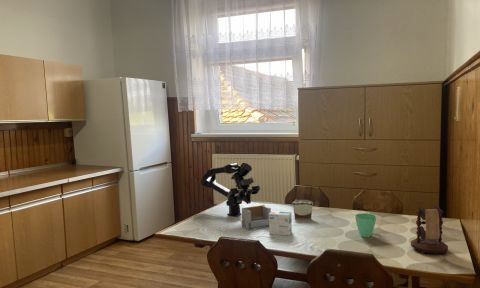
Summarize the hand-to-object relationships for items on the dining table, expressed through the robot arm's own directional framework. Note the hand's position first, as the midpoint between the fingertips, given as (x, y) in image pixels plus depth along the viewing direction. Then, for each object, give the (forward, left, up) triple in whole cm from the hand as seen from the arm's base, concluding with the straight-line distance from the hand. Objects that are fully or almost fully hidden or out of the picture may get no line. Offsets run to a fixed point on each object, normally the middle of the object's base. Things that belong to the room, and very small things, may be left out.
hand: (249, 203), depth 215 cm
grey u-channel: (+10, -5, -10) cm, 15 cm away
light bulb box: (+26, -5, -11) cm, 28 cm away
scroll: (+91, +17, -11) cm, 93 cm away
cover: (+6, -3, -10) cm, 12 cm away
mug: (+61, +20, -11) cm, 65 cm away
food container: (+20, +25, -11) cm, 33 cm away
